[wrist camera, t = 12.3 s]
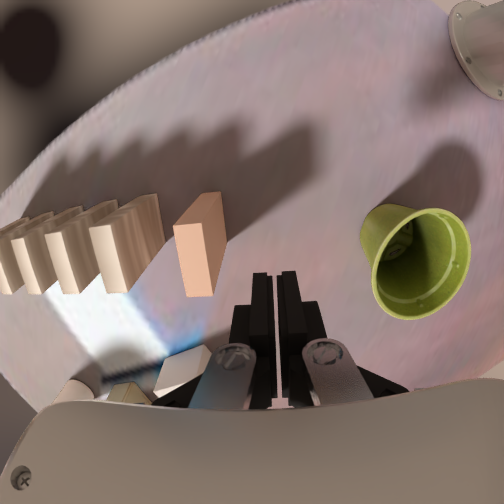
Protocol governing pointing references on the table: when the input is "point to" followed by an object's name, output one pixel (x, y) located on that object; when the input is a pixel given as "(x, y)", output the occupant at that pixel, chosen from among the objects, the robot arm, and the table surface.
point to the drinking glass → (74, 392)
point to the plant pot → (415, 258)
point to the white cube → (181, 369)
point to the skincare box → (128, 394)
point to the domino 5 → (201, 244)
